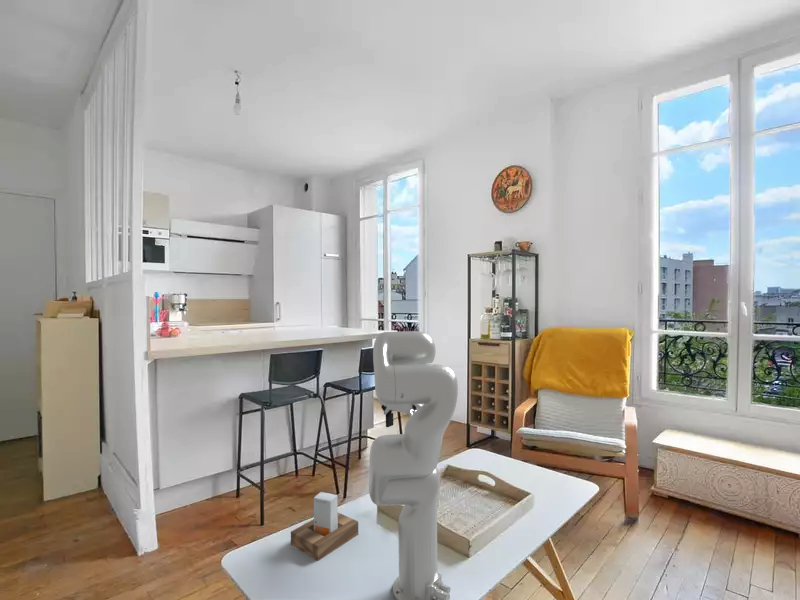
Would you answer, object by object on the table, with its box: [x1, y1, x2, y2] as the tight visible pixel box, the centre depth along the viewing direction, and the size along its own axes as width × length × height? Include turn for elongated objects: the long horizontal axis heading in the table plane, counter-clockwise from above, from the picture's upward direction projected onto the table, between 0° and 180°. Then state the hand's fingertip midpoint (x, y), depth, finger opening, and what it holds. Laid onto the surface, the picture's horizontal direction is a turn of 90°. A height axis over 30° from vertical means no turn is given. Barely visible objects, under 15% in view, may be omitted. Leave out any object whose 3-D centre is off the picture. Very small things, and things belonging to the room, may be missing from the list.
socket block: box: [290, 512, 359, 561], centre depth 125 cm, size 12×16×4 cm
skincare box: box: [313, 491, 339, 536], centre depth 125 cm, size 6×4×12 cm
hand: (401, 428), depth 134 cm, fingers open, 9 cm apart
